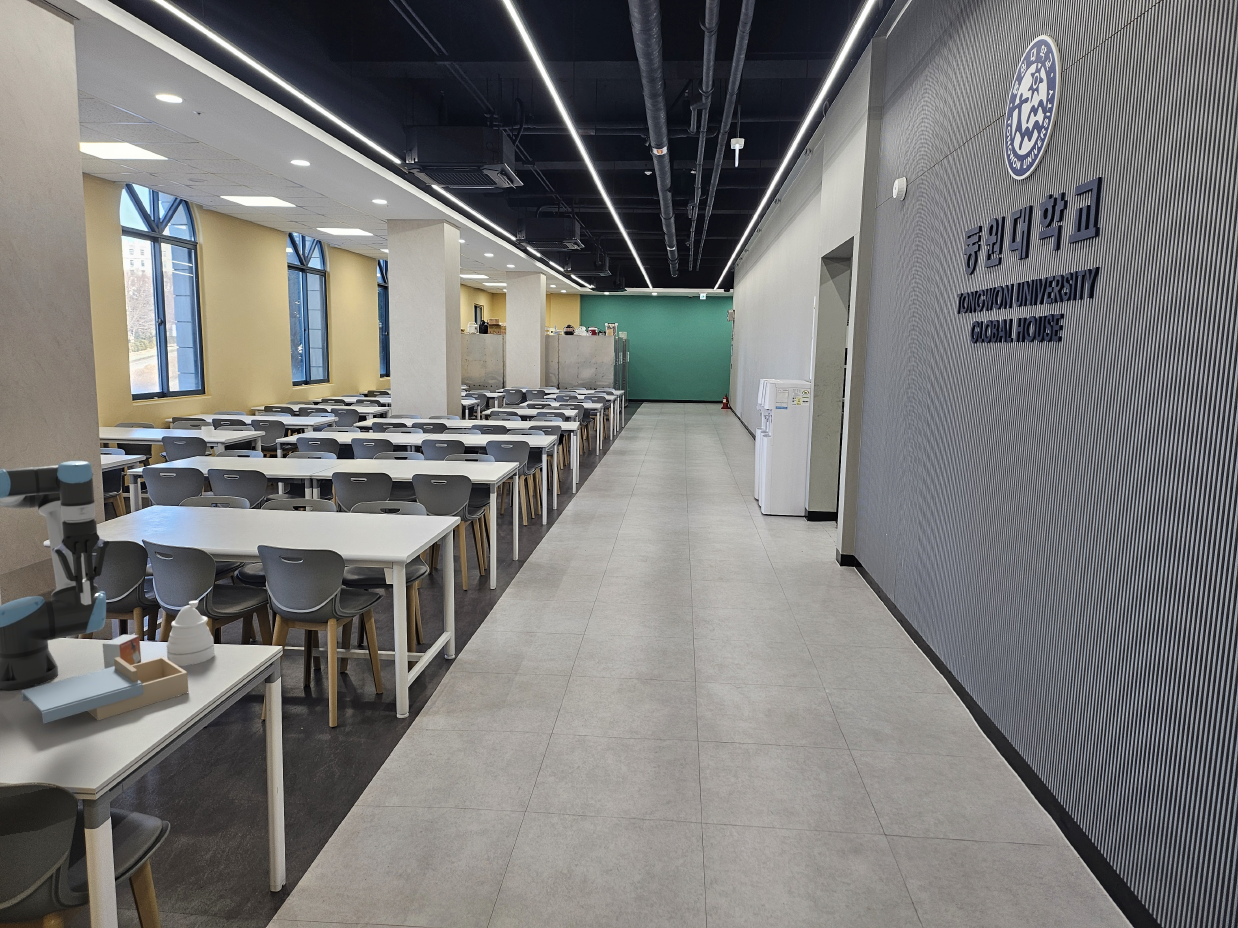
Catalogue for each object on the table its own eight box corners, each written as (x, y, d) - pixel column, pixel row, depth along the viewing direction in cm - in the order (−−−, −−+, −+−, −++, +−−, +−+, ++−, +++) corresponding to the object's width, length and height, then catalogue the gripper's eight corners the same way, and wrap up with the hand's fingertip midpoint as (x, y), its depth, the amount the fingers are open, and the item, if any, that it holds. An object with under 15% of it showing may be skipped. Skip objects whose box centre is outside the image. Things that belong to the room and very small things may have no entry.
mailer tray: (76, 701, 211) (74, 680, 210) (164, 676, 228) (163, 656, 227) (97, 720, 200) (95, 698, 199) (188, 692, 217) (187, 672, 216)
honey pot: (222, 649, 248) (218, 595, 246) (200, 665, 235) (196, 608, 233) (182, 649, 248) (178, 595, 246) (158, 665, 236) (154, 608, 233)
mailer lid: (22, 700, 202) (20, 678, 201) (118, 674, 219) (116, 654, 218) (43, 723, 190) (41, 699, 189) (143, 694, 207) (141, 672, 206)
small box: (121, 679, 225) (118, 644, 224) (104, 678, 226) (101, 643, 225) (142, 668, 233) (139, 634, 232) (126, 667, 234) (123, 633, 232)
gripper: (55, 525, 200) (63, 612, 204) (112, 517, 211) (118, 600, 215) (45, 520, 205) (53, 606, 209) (100, 512, 215) (107, 594, 219)
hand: (86, 603), depth 212 cm, fingers closed
